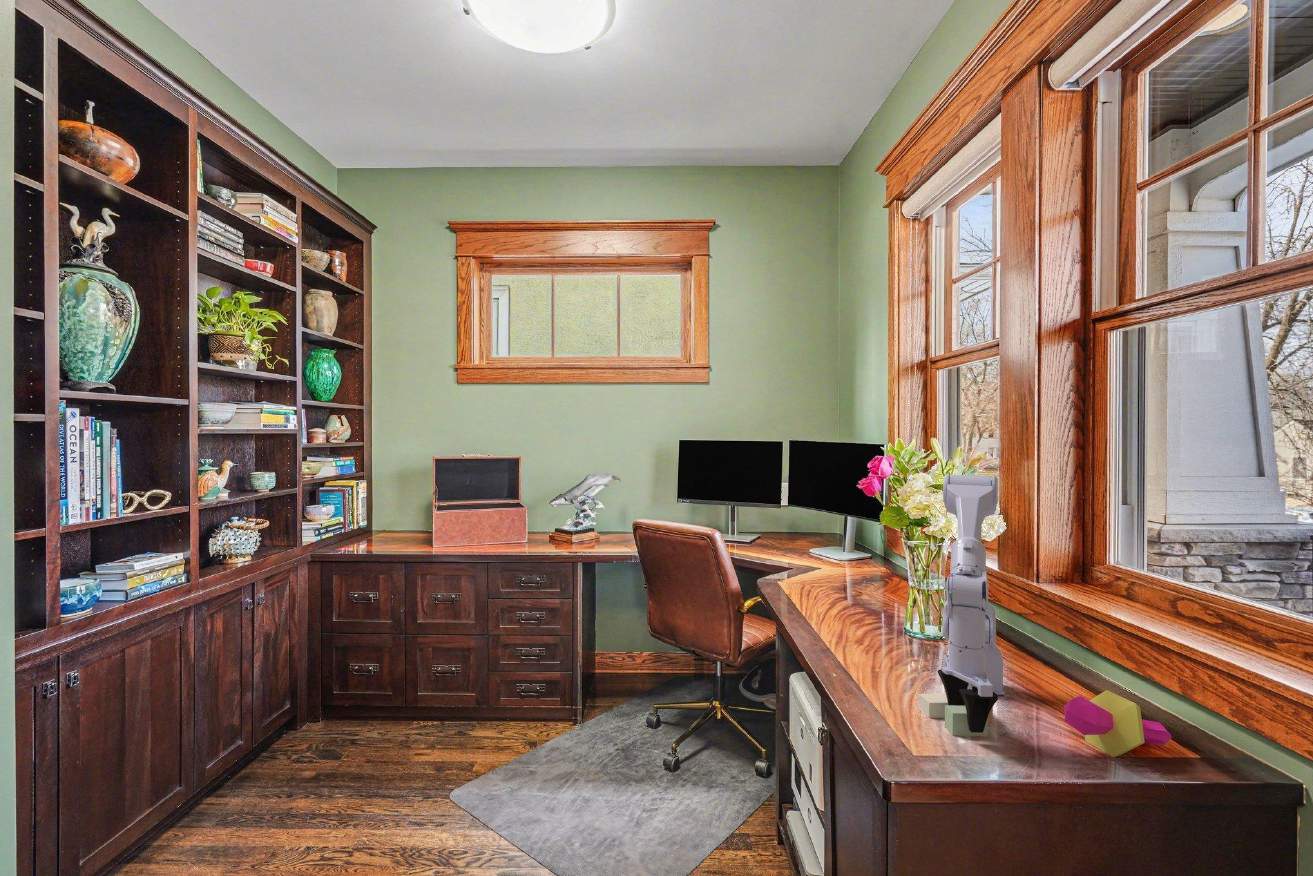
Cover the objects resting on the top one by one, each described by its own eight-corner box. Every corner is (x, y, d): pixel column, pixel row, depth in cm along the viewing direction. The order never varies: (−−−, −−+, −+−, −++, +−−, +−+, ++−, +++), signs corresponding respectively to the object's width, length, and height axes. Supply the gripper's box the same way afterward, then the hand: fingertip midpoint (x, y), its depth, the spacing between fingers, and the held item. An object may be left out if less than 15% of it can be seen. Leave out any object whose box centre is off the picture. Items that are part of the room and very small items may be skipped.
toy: (1193, 772, 100) (1183, 703, 105) (1097, 746, 98) (1090, 676, 102) (1134, 768, 109) (1127, 704, 114) (1044, 744, 107) (1040, 679, 111)
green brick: (979, 728, 114) (979, 706, 114) (987, 737, 110) (988, 714, 110) (944, 727, 114) (944, 705, 114) (952, 736, 110) (952, 713, 110)
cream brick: (949, 709, 122) (949, 693, 122) (960, 718, 118) (960, 702, 118) (918, 709, 121) (918, 694, 121) (929, 719, 117) (929, 702, 117)
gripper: (927, 630, 119) (926, 703, 119) (962, 657, 105) (961, 740, 105) (965, 631, 119) (964, 704, 119) (1005, 658, 105) (1005, 741, 105)
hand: (966, 721), depth 112 cm, fingers open, 7 cm apart
